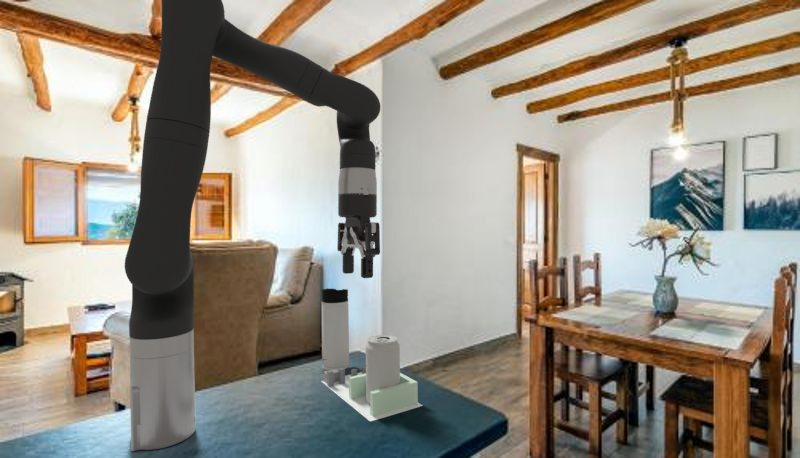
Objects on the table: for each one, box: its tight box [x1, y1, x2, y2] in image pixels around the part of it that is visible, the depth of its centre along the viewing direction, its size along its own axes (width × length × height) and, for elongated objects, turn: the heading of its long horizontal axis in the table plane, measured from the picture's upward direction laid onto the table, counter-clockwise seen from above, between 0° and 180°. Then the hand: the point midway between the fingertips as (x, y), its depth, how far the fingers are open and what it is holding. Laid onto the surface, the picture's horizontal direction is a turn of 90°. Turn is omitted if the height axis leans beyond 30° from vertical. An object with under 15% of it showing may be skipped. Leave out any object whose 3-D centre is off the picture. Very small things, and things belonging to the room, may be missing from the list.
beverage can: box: [365, 334, 401, 403], centre depth 78 cm, size 6×6×12 cm
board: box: [320, 365, 424, 422], centre depth 83 cm, size 11×22×4 cm, turn 33°
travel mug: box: [321, 288, 350, 373], centre depth 98 cm, size 6×7×20 cm
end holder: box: [349, 372, 419, 417], centre depth 79 cm, size 10×10×4 cm
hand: (357, 275), depth 82 cm, fingers open, 8 cm apart
